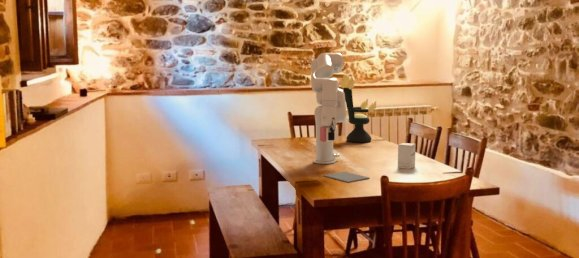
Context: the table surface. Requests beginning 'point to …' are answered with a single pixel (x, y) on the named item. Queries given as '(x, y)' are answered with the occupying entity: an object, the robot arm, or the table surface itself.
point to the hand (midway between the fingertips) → (329, 139)
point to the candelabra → (357, 119)
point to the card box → (324, 134)
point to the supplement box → (406, 155)
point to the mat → (346, 177)
